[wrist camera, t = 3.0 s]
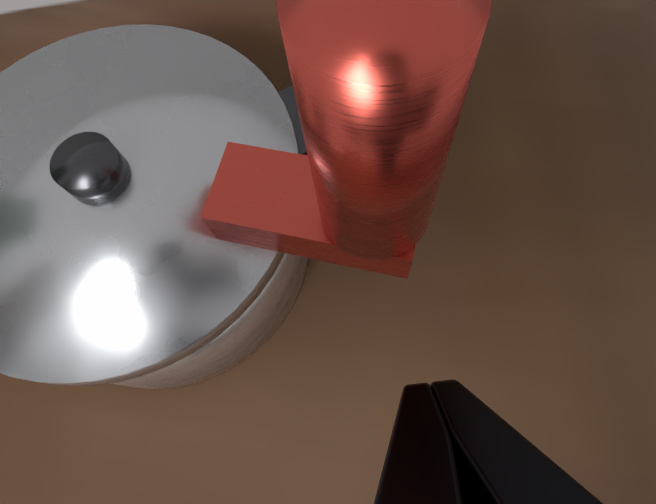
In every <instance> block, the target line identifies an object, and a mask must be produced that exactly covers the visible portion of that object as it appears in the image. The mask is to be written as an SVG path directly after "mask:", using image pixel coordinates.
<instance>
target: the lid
mask: <svg viewBox="0 0 656 504" xmlns="http://www.w3.org/2000/svg"><path fill="white" fill-rule="evenodd" d="M491 7H492V0H277V14H278V19H279V23H280V28H281V33H282V37H283V42H284V47H285V52H286V56H287V61H288V66H289V70H290V75H291V80H292V84H293V89H294V94H295V98H296V103H297V108H298V113H299V117H300V122H301V127H302V131H303V136H304V141H305V145H306V150H307V155H308V156H307V155H302V154H299V151H298V147H297V142H296V138H295V134H294V130H293V126H292V122H291V119H290V117H289V114H288V112H287V110H286V107H285V105H284V102H283V101H282V99H281V97H280V96H279V94H278V92H277V91H276V89H275V87H274V86H273V84H272V83H271V82H270V81H269V80H268V78H267V77H266V76H265V75H264V74H263V72H262V71H261V70H260V69H259V68H258V67H256V66H255V65H254V64H253V63H252V62H251V61H250V60H249V59H247V58H246V57H245V56H244V55H242V54H241V53H239V52H238V51H236V50H235V49H233V48H231V47H230V46H228V45H226V44H224V43H222V42H220V41H218V40H216V39H214V38H212V37H209V36H206V35H203V34H200V33H197V32H194V31H191V30H186V29H181V28H176V27H171V26H161V25H149V24H146V25H123V26H115V27H107V28H101V29H97V30H93V31H88V32H84V33H80V34H77V35H74V36H71V37H68V38H65V39H62V40H59V41H57V42H55V43H52V44H50V45H48V46H46V47H43V48H41V49H39V50H37V51H35V52H33V53H31V54H30V55H28V56H26V57H24V58H22V59H20V60H19V61H17V62H16V63H14V64H13V65H11V66H10V67H8V68H7V69H5V70H4V71H2V72H1V73H0V373H1V374H4V375H7V376H10V377H14V378H19V379H24V380H30V381H35V382H41V383H47V384H54V385H70V386H90V385H101V384H111V383H116V382H120V381H124V380H129V379H133V378H137V377H141V376H144V375H146V374H149V373H152V372H154V371H157V370H160V369H162V368H165V367H168V366H170V365H172V364H174V363H175V362H177V361H179V360H181V359H183V358H185V357H187V356H189V355H191V354H193V353H194V352H196V351H197V350H199V349H200V348H202V347H203V346H205V345H206V344H208V343H209V342H211V341H212V340H213V339H215V338H216V337H218V336H219V335H220V334H221V333H222V332H224V331H225V330H226V329H227V328H228V327H229V326H230V325H232V324H233V323H234V322H235V321H236V320H237V319H238V318H240V317H241V315H242V314H243V313H244V312H245V311H246V310H247V309H248V308H249V306H250V305H251V304H252V303H253V302H254V301H255V300H256V299H257V298H258V296H259V295H260V294H261V292H262V291H263V289H264V288H265V286H266V285H267V284H268V282H269V281H270V279H271V278H272V276H273V275H274V273H275V271H276V270H277V268H278V266H279V264H280V262H281V260H282V258H283V256H284V254H285V253H287V254H291V255H296V256H301V257H306V258H311V259H315V260H320V261H325V262H330V263H334V264H339V265H344V266H349V267H354V268H358V269H363V270H368V271H373V272H377V273H382V274H387V275H392V276H397V277H401V278H406V279H407V278H408V274H409V270H410V266H411V263H412V258H413V253H414V248H415V244H416V243H417V242H418V241H419V239H420V238H421V237H422V235H423V234H424V232H425V230H426V227H427V225H428V222H429V218H430V215H431V212H432V208H433V205H434V201H435V198H436V195H437V191H438V188H439V184H440V181H441V178H442V174H443V171H444V167H445V164H446V161H447V157H448V154H449V151H450V147H451V144H452V140H453V137H454V134H455V130H456V127H457V123H458V120H459V117H460V113H461V110H462V106H463V103H464V100H465V96H466V93H467V90H468V86H469V83H470V79H471V76H472V73H473V69H474V66H475V62H476V59H477V56H478V52H479V49H480V45H481V42H482V39H483V35H484V32H485V29H486V25H487V22H488V18H489V15H490V11H491Z"/></svg>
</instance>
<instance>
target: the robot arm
mask: <svg viewBox="0 0 656 504" xmlns="http://www.w3.org/2000/svg"><path fill="white" fill-rule="evenodd" d="M374 504H603V503H602V502H600V501H599V500H598V499H597V498H596V497H594V496H593V495H592V494H591V493H590V492H589V491H587V490H586V489H585V488H584V487H583V486H581V485H580V484H579V483H578V482H577V481H576V480H574V479H573V478H572V477H571V476H570V475H568V474H567V473H566V472H565V471H564V470H563V469H561V468H560V467H559V466H558V465H557V464H555V463H554V462H553V461H552V460H551V459H549V458H548V457H547V456H546V455H545V454H544V453H542V452H541V451H540V450H539V449H538V448H536V447H535V446H534V445H533V444H532V443H531V442H529V441H528V440H527V439H526V438H525V437H523V436H522V435H521V434H520V433H519V432H517V431H516V430H515V429H514V428H513V427H512V426H510V425H509V424H508V423H507V422H506V421H504V420H503V419H502V418H501V417H500V416H499V415H497V414H496V413H495V412H494V411H493V410H491V409H490V408H489V407H488V406H487V405H485V404H484V403H483V402H482V401H481V400H480V399H478V398H477V397H476V396H475V395H474V394H472V393H471V392H470V391H469V390H468V389H467V388H465V387H464V386H463V385H462V384H461V383H459V382H458V381H456V380H444V381H436V382H433V383H431V385H429V384H428V383H418V384H410V385H406V386H405V387H404V388H403V392H402V395H401V399H400V403H399V407H398V411H397V415H396V419H395V423H394V427H393V431H392V435H391V439H390V443H389V447H388V450H387V454H386V458H385V462H384V466H383V470H382V474H381V478H380V482H379V486H378V490H377V494H376V498H375V502H374Z"/></svg>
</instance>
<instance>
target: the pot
mask: <svg viewBox="0 0 656 504" xmlns="http://www.w3.org/2000/svg"><path fill="white" fill-rule="evenodd" d="M278 94H279V96H280V97H281V99H282V101H283V102H284V105H285V107H286V110H287V112H288V114H289V117H290V119H291V122H292V126H293V130H294V134H295V138H296V142H297V147H298V151H299V154H302V155H307V150H306V145H305V141H304V136H303V131H302V127H301V122H300V117H299V113H298V108H297V103H296V98H295V94H294V89H293V85H292V86H290V87H288V88H285V89H283V90H281V91H279V92H278ZM307 156H308V155H307ZM307 263H308V258H306V257H301V256H296V255H291V254H287V253H285V254H284V256H283V258H282V260H281V262H280V264H279V266H278V268H277V270H276V271H275V273H274V275H273V276H272V278H271V279H270V281H269V282H268V284H267V285H266V286H265V288H264V289H263V291H262V292H261V294H260V295H259V296H258V298H257V299H256V300H255V301H254V302H253V303H252V304H251V305H250V306H249V308H248V309H247V310H246V311H245V312H244V313H243V314H242V315H241V317H240V318H238V319H237V320H236V321H235V322H234V323H233V324H232V325H230V326H229V327H228V328H227V329H226V330H225V331H224V332H222V333H221V334H220V335H219V336H218V337H216V338H215V339H213V340H212V341H211V342H209V343H208V344H206V345H205V346H203V347H202V348H200V349H199V350H197V351H196V352H194V353H193V354H191V355H189V356H187V357H185V358H183V359H181V360H179V361H177V362H175V363H174V364H172V365H170V366H168V367H165V368H162V369H160V370H157V371H154V372H152V373H149V374H146V375H144V376H141V377H137V378H133V379H129V380H124V381H120V382H116V383H111V384H116V385H122V386H127V387H134V388H141V389H169V388H176V387H183V386H188V385H191V384H195V383H198V382H202V381H205V380H207V379H210V378H212V377H214V376H217V375H219V374H222V373H224V372H225V371H227V370H229V369H230V368H232V367H234V366H236V365H237V364H239V363H241V362H242V361H243V360H245V359H246V358H247V357H249V356H250V355H251V354H253V353H254V352H255V351H257V350H258V349H259V348H260V347H261V346H262V345H263V344H264V343H265V342H266V341H267V340H268V339H269V338H270V337H271V336H272V335H273V333H274V332H275V331H276V330H277V328H278V327H279V326H280V325H281V323H282V322H283V321H284V319H285V318H286V316H287V314H288V313H289V311H290V309H291V308H292V306H293V304H294V302H295V300H296V298H297V296H298V293H299V291H300V289H301V286H302V283H303V280H304V276H305V273H306V269H307Z"/></svg>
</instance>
